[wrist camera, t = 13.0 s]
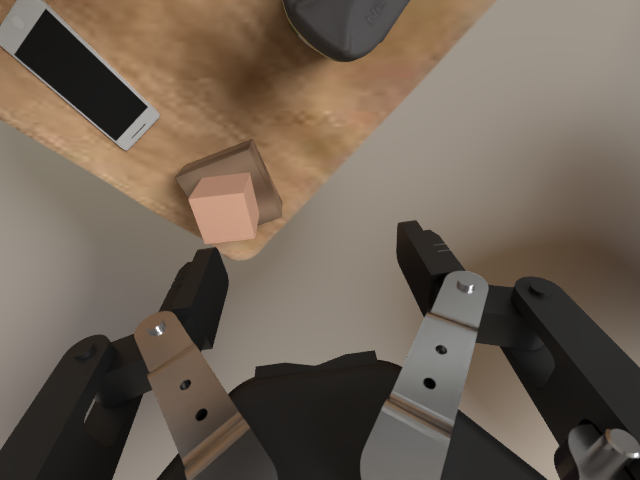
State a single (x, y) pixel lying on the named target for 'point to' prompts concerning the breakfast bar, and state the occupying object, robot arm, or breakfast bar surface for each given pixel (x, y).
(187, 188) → the walnut block
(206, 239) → the terracotta cube
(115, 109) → the smartphone
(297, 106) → the breakfast bar surface
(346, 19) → the coffee jar
